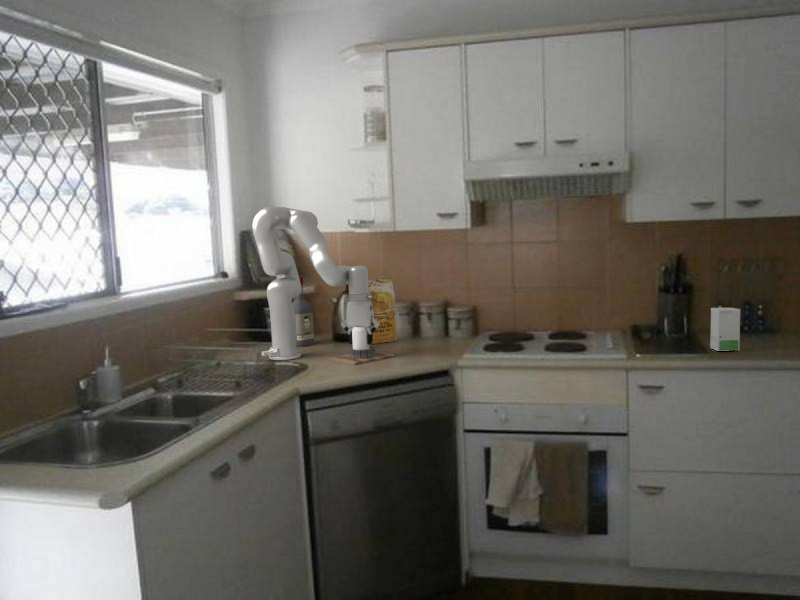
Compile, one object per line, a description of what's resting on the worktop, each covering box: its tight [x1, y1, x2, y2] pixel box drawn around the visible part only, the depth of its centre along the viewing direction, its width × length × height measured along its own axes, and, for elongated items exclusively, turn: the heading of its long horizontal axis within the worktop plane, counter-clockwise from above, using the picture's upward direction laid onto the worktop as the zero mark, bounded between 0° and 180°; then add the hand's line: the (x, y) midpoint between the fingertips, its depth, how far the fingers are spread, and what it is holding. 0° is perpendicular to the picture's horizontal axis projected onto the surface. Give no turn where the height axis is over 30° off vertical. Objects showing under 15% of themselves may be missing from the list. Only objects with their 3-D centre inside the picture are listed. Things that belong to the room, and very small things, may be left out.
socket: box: [328, 345, 396, 366], centre depth 264 cm, size 20×16×4 cm
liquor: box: [292, 276, 315, 348], centre depth 298 cm, size 9×9×30 cm
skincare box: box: [709, 307, 741, 352], centre depth 248 cm, size 8×7×16 cm
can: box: [352, 326, 370, 350], centre depth 263 cm, size 6×6×12 cm
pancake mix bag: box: [368, 277, 398, 345], centre depth 296 cm, size 7×19×28 cm, turn 116°
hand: (361, 343), depth 263 cm, fingers open, 6 cm apart
